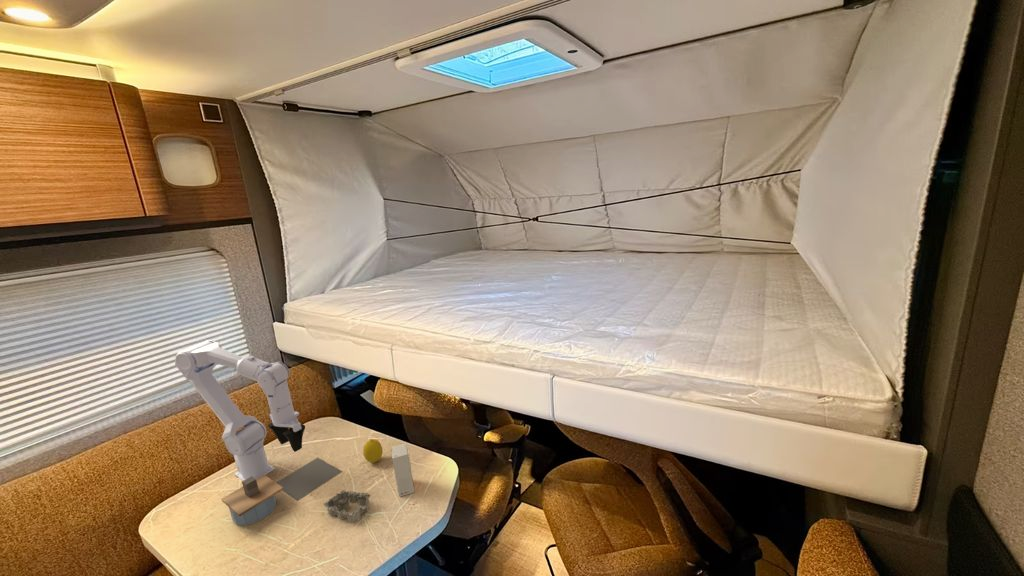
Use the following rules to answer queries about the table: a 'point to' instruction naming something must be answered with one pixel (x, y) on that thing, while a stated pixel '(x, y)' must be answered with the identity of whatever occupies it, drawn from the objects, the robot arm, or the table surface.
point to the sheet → (254, 500)
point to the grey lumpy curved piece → (344, 505)
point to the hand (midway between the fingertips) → (291, 446)
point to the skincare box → (402, 469)
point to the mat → (308, 478)
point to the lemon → (372, 450)
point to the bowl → (255, 512)
